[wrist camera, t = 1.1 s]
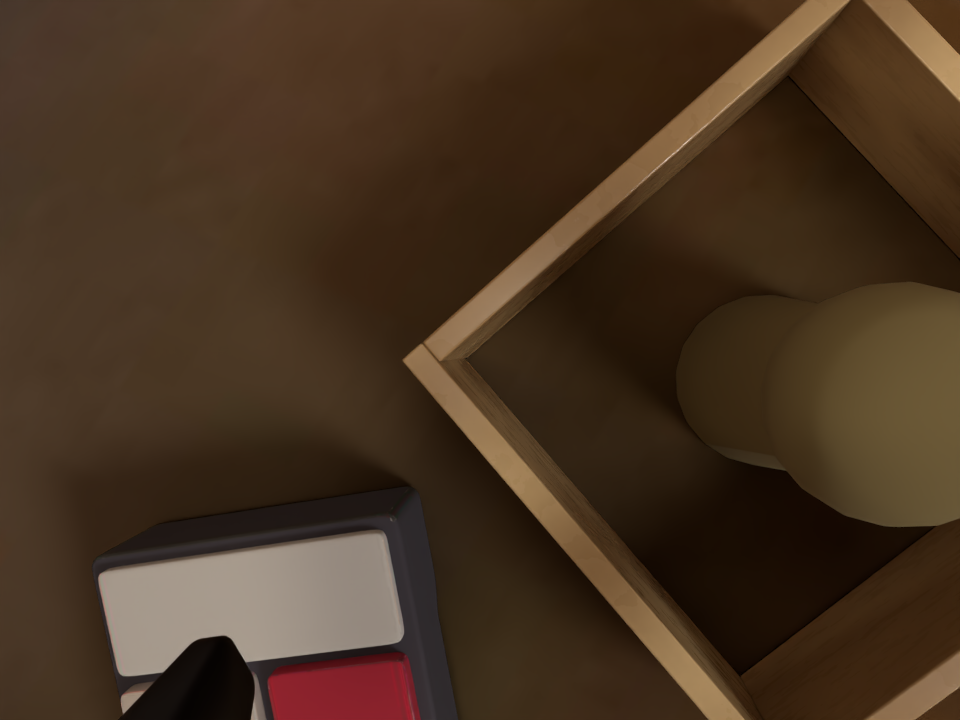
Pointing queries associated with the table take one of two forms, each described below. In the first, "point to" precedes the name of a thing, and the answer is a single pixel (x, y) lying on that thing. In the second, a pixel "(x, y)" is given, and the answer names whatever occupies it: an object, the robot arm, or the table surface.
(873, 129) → the crate
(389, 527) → the calculator
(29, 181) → the table surface
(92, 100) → the table surface
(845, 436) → the beige pawn
